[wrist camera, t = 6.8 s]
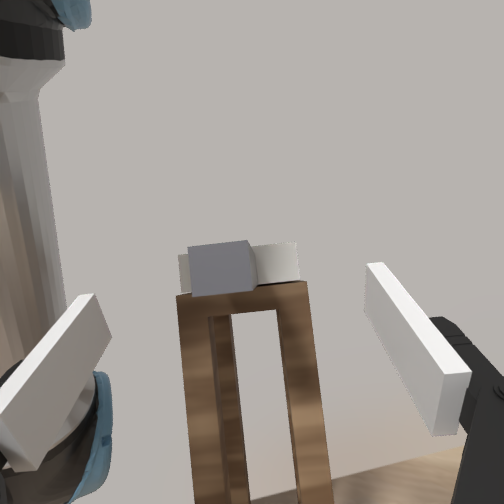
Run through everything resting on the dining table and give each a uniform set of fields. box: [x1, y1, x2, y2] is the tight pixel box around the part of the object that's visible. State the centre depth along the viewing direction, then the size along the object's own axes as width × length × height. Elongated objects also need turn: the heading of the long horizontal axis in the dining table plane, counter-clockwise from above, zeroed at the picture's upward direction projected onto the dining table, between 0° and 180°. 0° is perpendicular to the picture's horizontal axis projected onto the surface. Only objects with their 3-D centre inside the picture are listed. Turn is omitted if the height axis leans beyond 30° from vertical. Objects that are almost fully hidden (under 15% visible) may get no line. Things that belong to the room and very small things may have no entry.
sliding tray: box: [178, 240, 300, 297], centre depth 29 cm, size 27×10×3 cm, turn 178°
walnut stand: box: [176, 280, 334, 504], centre depth 33 cm, size 16×11×30 cm
